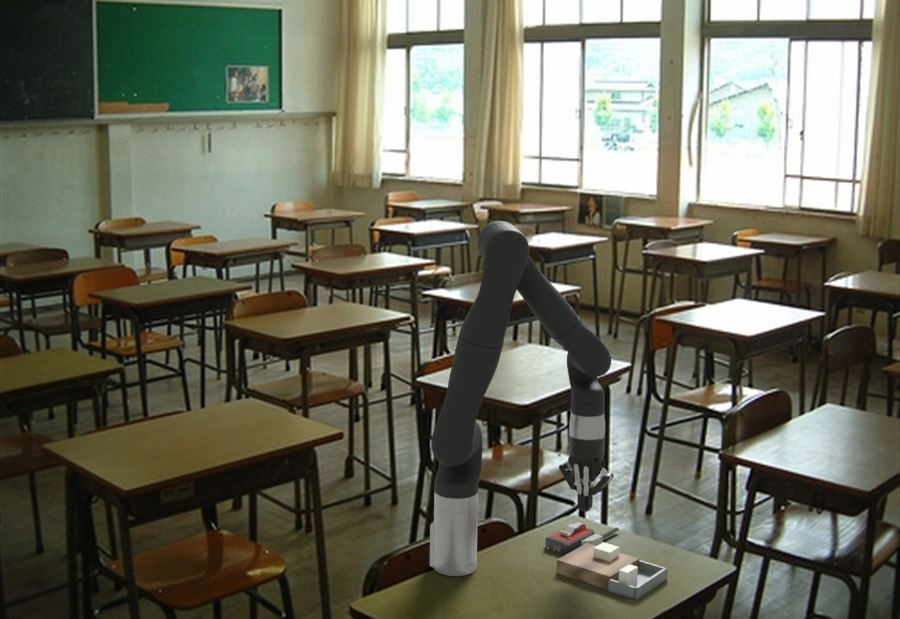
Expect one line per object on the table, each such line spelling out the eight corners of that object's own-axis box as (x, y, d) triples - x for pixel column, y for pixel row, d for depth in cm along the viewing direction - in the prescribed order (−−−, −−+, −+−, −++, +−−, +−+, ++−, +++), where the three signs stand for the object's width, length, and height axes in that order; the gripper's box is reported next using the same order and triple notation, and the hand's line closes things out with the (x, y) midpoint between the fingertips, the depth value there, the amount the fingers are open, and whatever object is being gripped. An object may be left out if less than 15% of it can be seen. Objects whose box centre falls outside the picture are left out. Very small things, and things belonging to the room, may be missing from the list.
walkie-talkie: (572, 561, 248) (621, 535, 263) (572, 542, 247) (622, 517, 262) (539, 550, 254) (589, 525, 268) (540, 532, 253) (590, 508, 268)
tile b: (593, 556, 242) (593, 547, 242) (603, 550, 245) (603, 542, 245) (609, 561, 240) (609, 552, 239) (619, 555, 243) (619, 547, 242)
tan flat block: (556, 573, 241) (556, 559, 240) (586, 555, 250) (586, 542, 249) (609, 590, 233) (610, 576, 232) (638, 571, 242) (639, 558, 242)
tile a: (619, 570, 232) (627, 572, 231) (629, 564, 235) (637, 566, 234) (618, 588, 233) (626, 591, 231) (628, 582, 236) (637, 585, 234)
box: (608, 591, 232) (608, 579, 232) (639, 571, 242) (640, 560, 242) (636, 600, 229) (636, 588, 228) (666, 579, 238) (667, 568, 238)
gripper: (551, 431, 242) (549, 508, 245) (604, 443, 234) (602, 522, 237) (570, 423, 248) (568, 498, 251) (623, 434, 240) (620, 512, 243)
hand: (585, 510), depth 244 cm, fingers closed
